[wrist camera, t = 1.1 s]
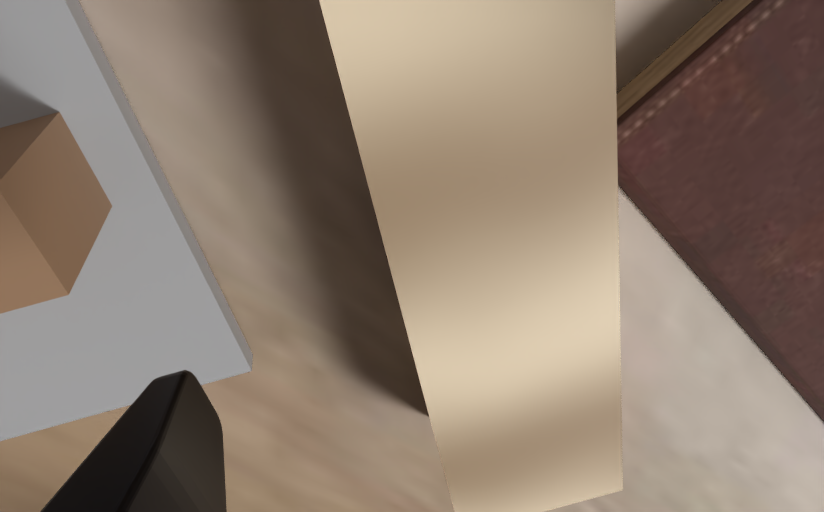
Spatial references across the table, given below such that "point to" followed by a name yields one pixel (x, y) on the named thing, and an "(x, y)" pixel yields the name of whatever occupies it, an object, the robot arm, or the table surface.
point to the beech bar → (498, 230)
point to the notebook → (741, 169)
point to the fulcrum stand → (90, 238)
